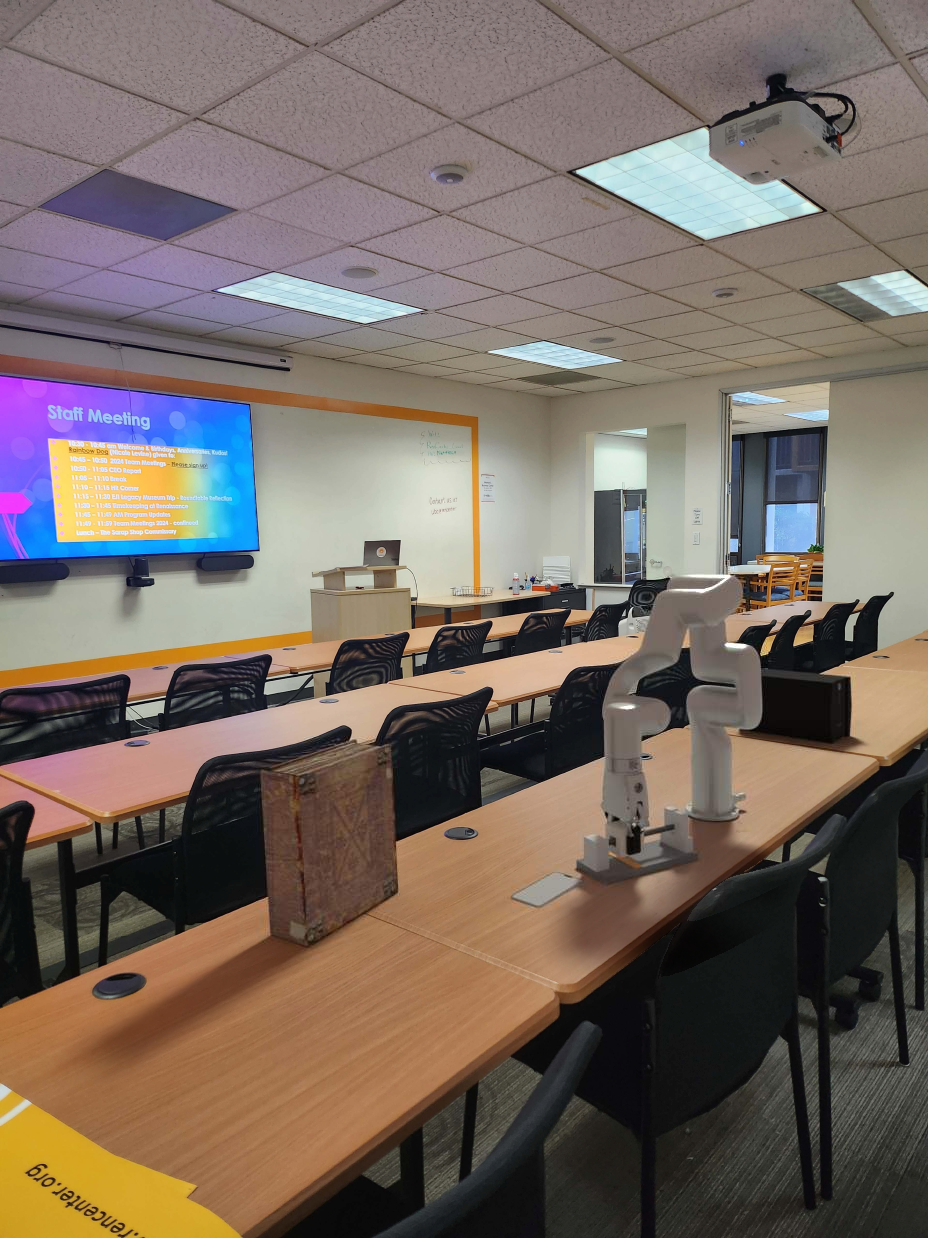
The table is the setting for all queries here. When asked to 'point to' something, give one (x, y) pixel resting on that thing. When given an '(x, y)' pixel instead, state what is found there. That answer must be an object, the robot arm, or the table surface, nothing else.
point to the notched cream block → (620, 837)
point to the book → (328, 839)
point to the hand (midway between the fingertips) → (624, 848)
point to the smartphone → (547, 889)
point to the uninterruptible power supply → (805, 705)
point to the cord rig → (655, 857)
